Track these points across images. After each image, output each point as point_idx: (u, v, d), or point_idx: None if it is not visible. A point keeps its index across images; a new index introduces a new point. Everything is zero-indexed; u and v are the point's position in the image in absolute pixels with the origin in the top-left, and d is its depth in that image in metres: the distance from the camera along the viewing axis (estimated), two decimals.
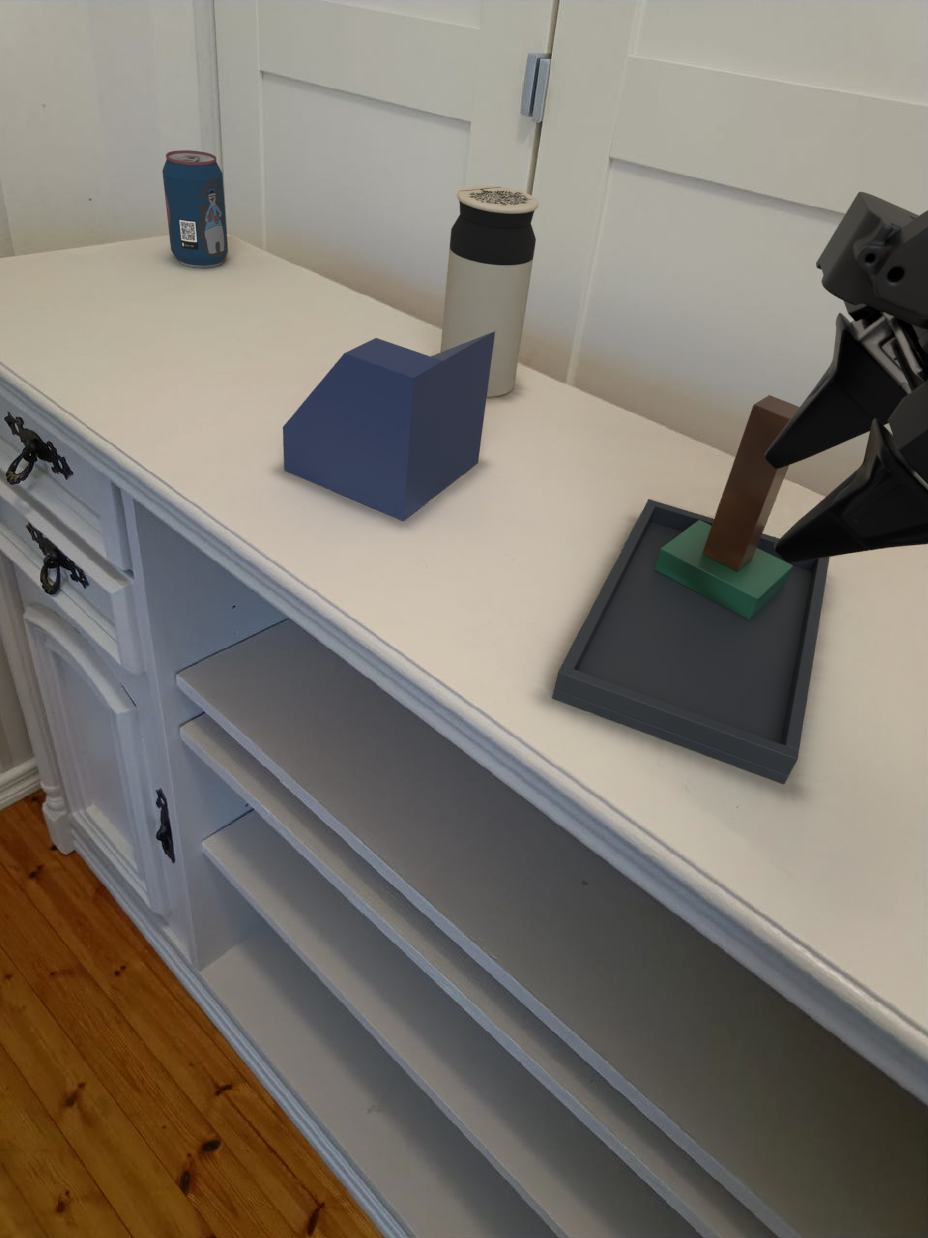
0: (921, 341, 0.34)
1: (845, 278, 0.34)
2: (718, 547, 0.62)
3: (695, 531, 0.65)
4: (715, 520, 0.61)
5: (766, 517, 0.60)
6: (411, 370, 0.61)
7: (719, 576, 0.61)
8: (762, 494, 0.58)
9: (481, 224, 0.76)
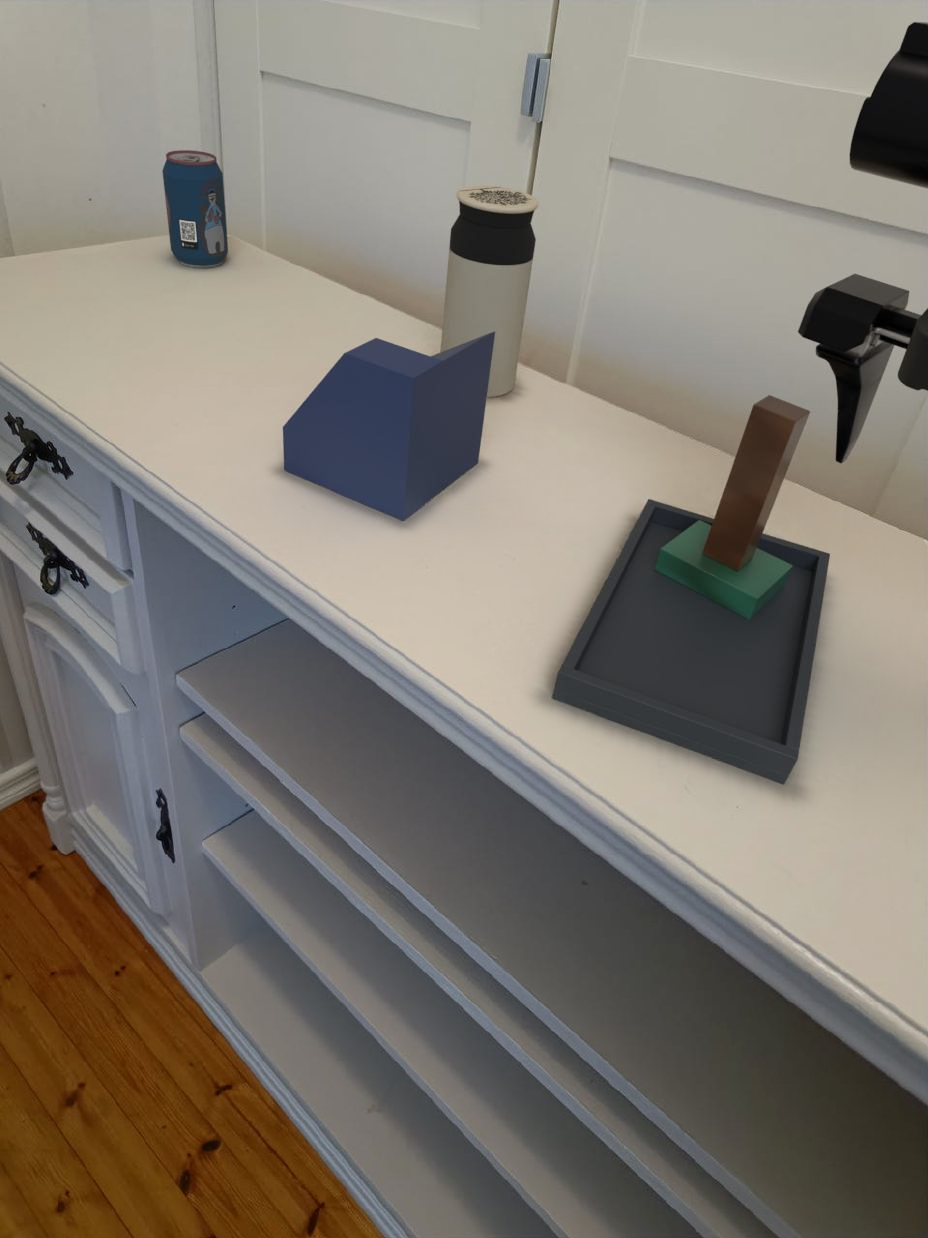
0: None
1: None
2: (718, 547, 0.62)
3: (695, 531, 0.65)
4: (715, 520, 0.61)
5: (766, 517, 0.60)
6: (411, 370, 0.61)
7: (719, 576, 0.61)
8: (762, 494, 0.58)
9: (481, 224, 0.76)
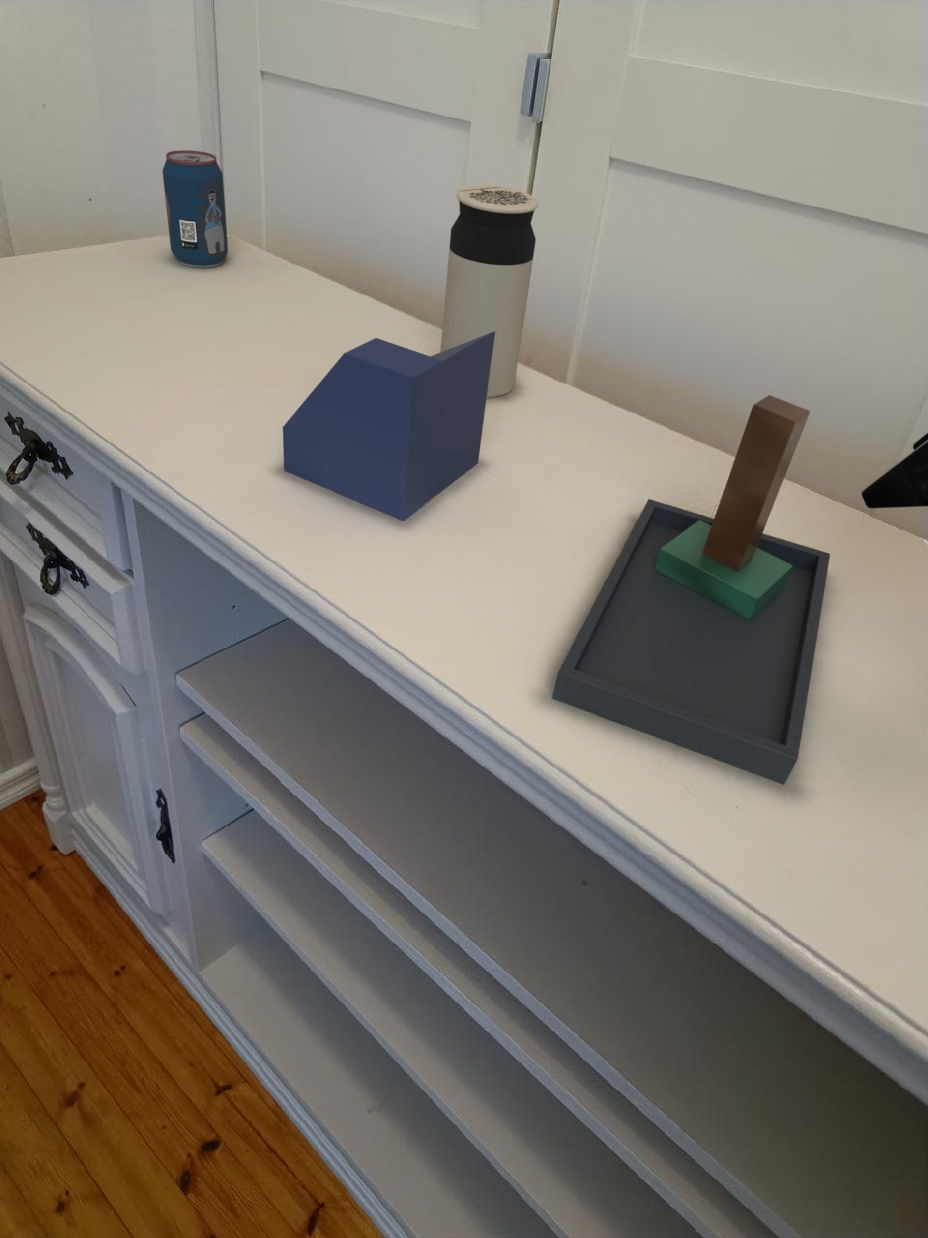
0: None
1: None
2: (718, 547, 0.62)
3: (695, 531, 0.65)
4: (715, 520, 0.61)
5: (766, 517, 0.60)
6: (411, 370, 0.61)
7: (719, 576, 0.61)
8: (762, 494, 0.58)
9: (481, 224, 0.76)
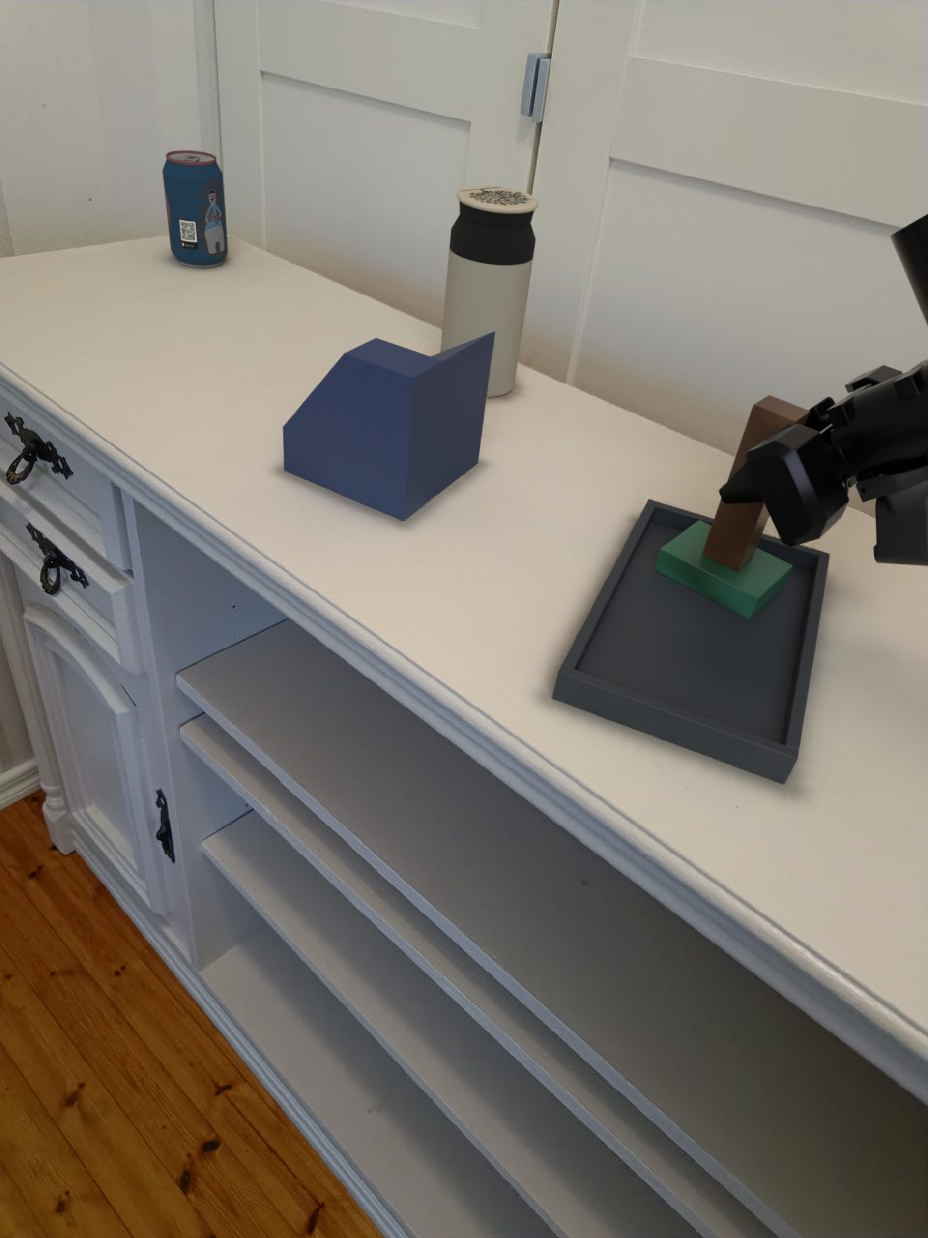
0: None
1: None
2: (718, 546, 0.62)
3: (695, 531, 0.65)
4: (715, 520, 0.61)
5: (766, 517, 0.60)
6: (411, 370, 0.61)
7: (719, 576, 0.61)
8: None
9: (481, 224, 0.76)
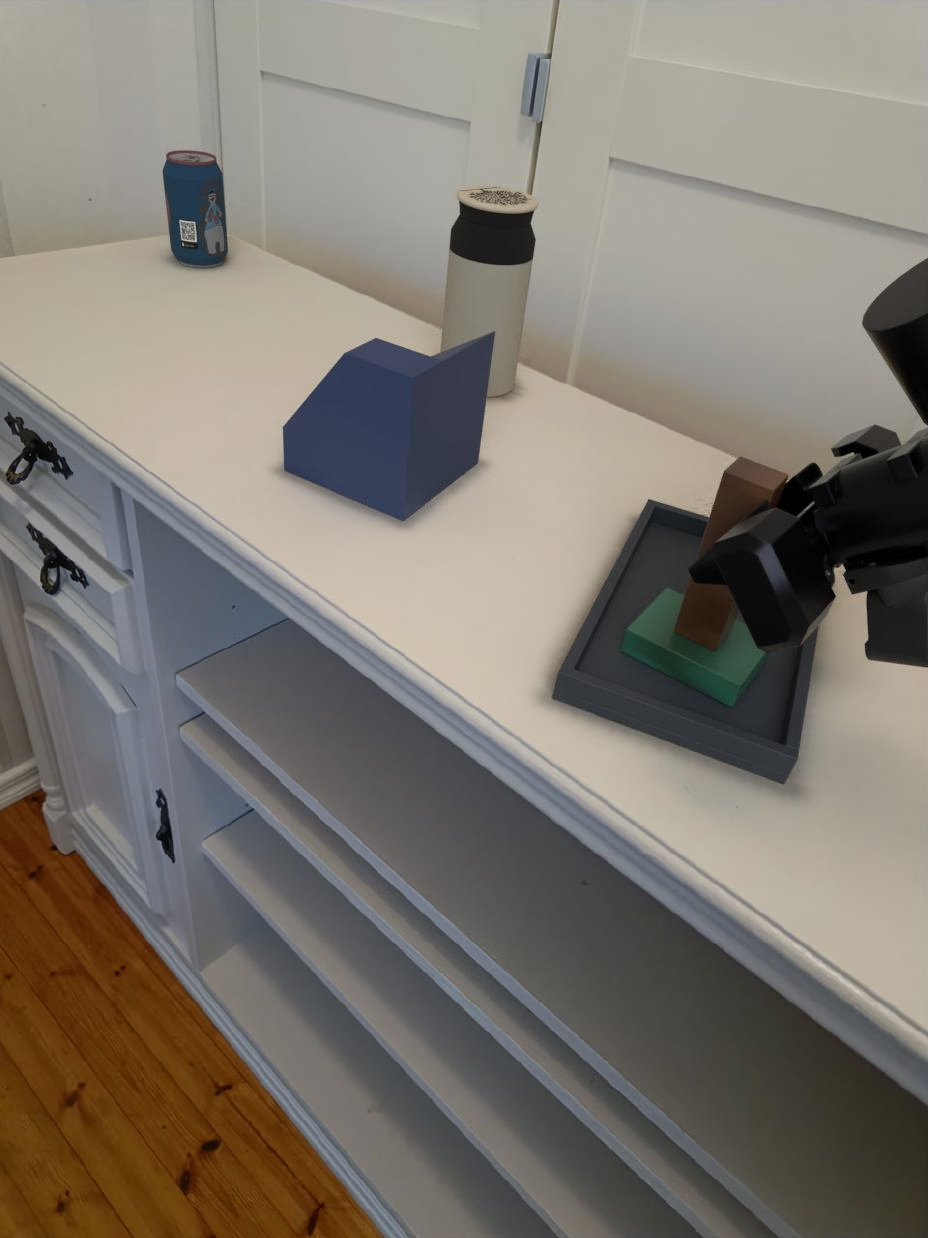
0: None
1: None
2: (691, 624, 0.54)
3: (664, 602, 0.58)
4: (686, 596, 0.53)
5: None
6: (411, 370, 0.61)
7: (695, 659, 0.53)
8: None
9: (481, 224, 0.76)
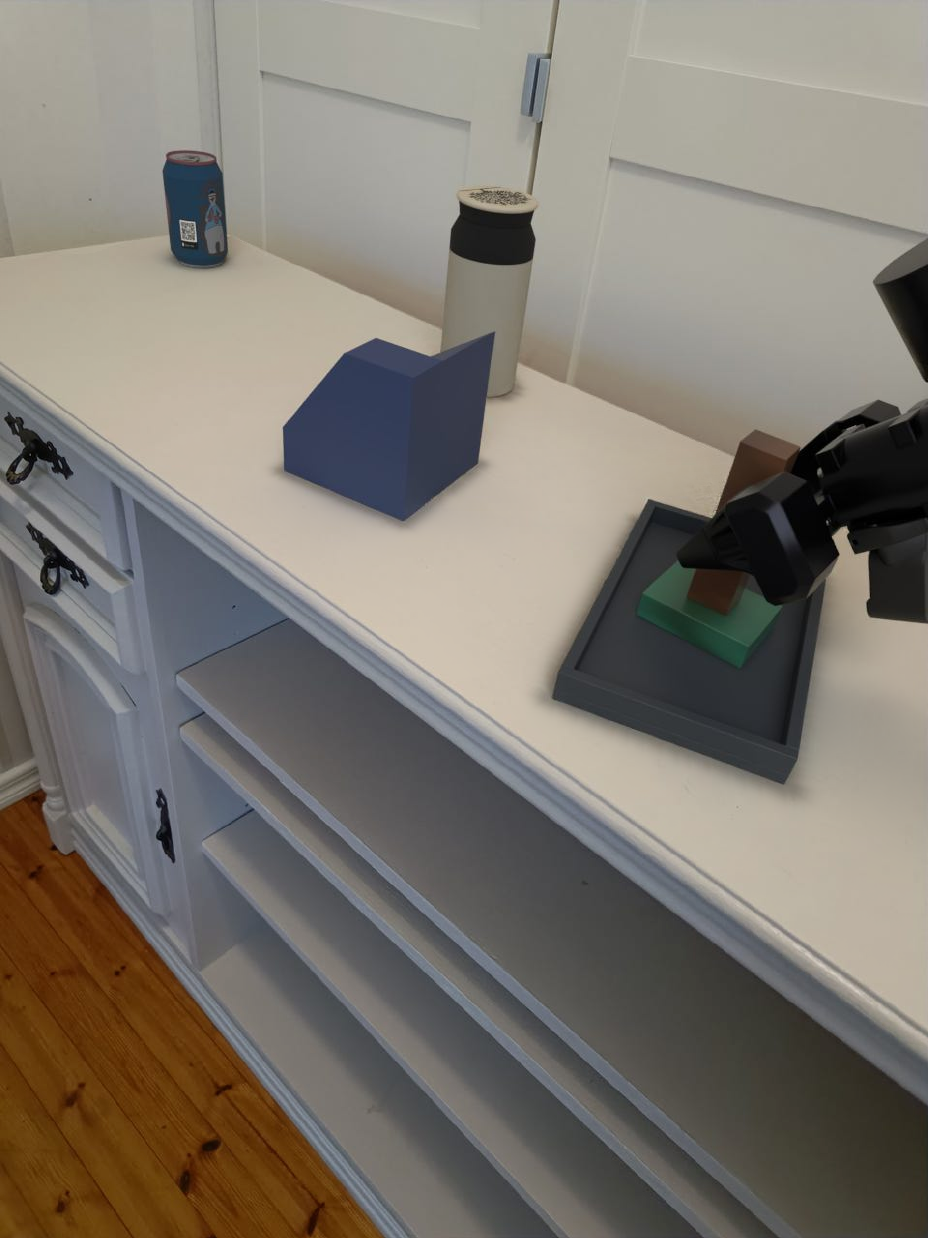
0: None
1: None
2: (703, 590, 0.57)
3: (677, 571, 0.61)
4: None
5: None
6: (411, 370, 0.61)
7: (707, 622, 0.57)
8: None
9: (481, 224, 0.76)
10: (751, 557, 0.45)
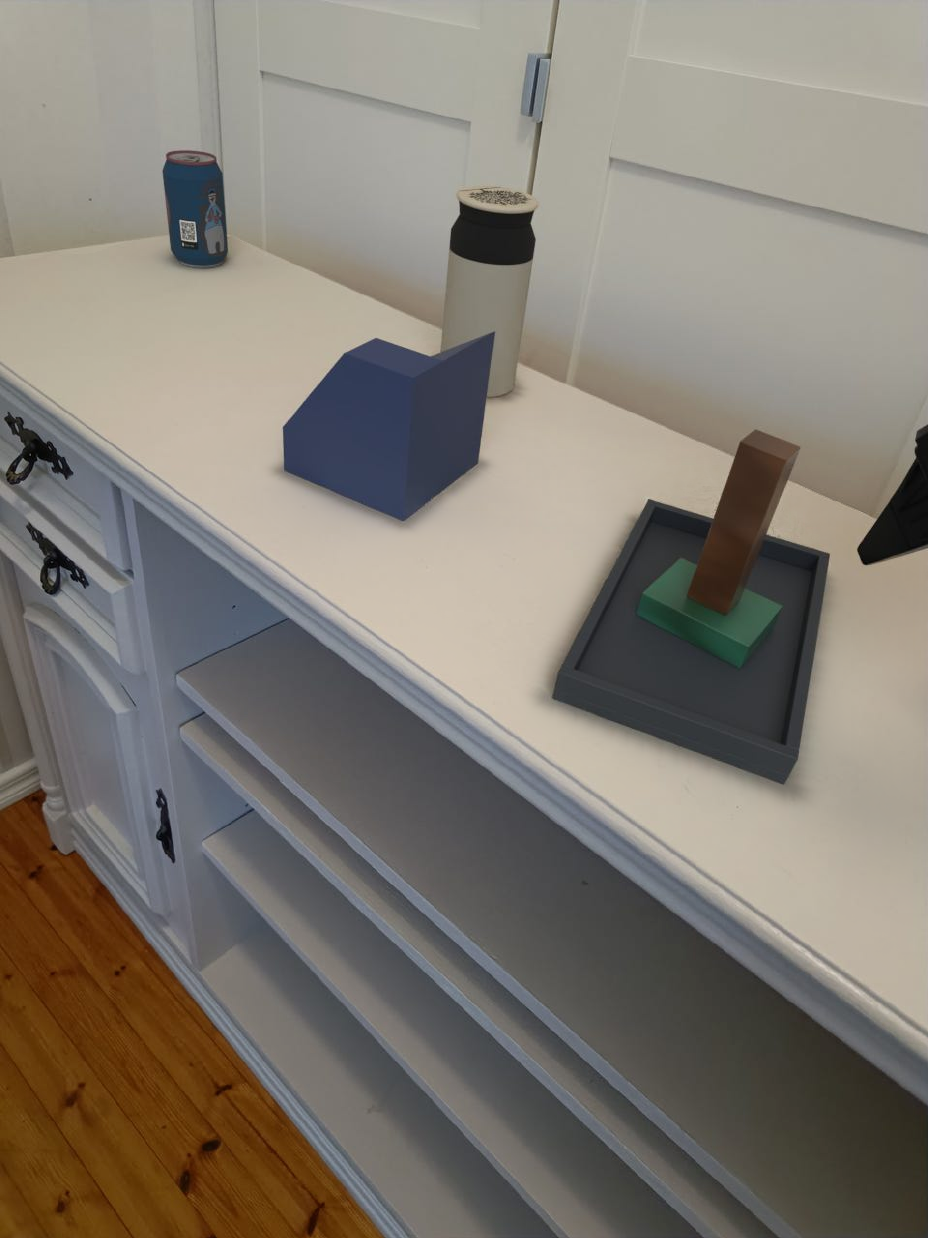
0: None
1: None
2: (703, 590, 0.57)
3: (677, 571, 0.61)
4: (700, 562, 0.57)
5: (754, 558, 0.56)
6: (411, 370, 0.61)
7: (707, 622, 0.57)
8: (751, 536, 0.53)
9: (481, 224, 0.76)
10: None
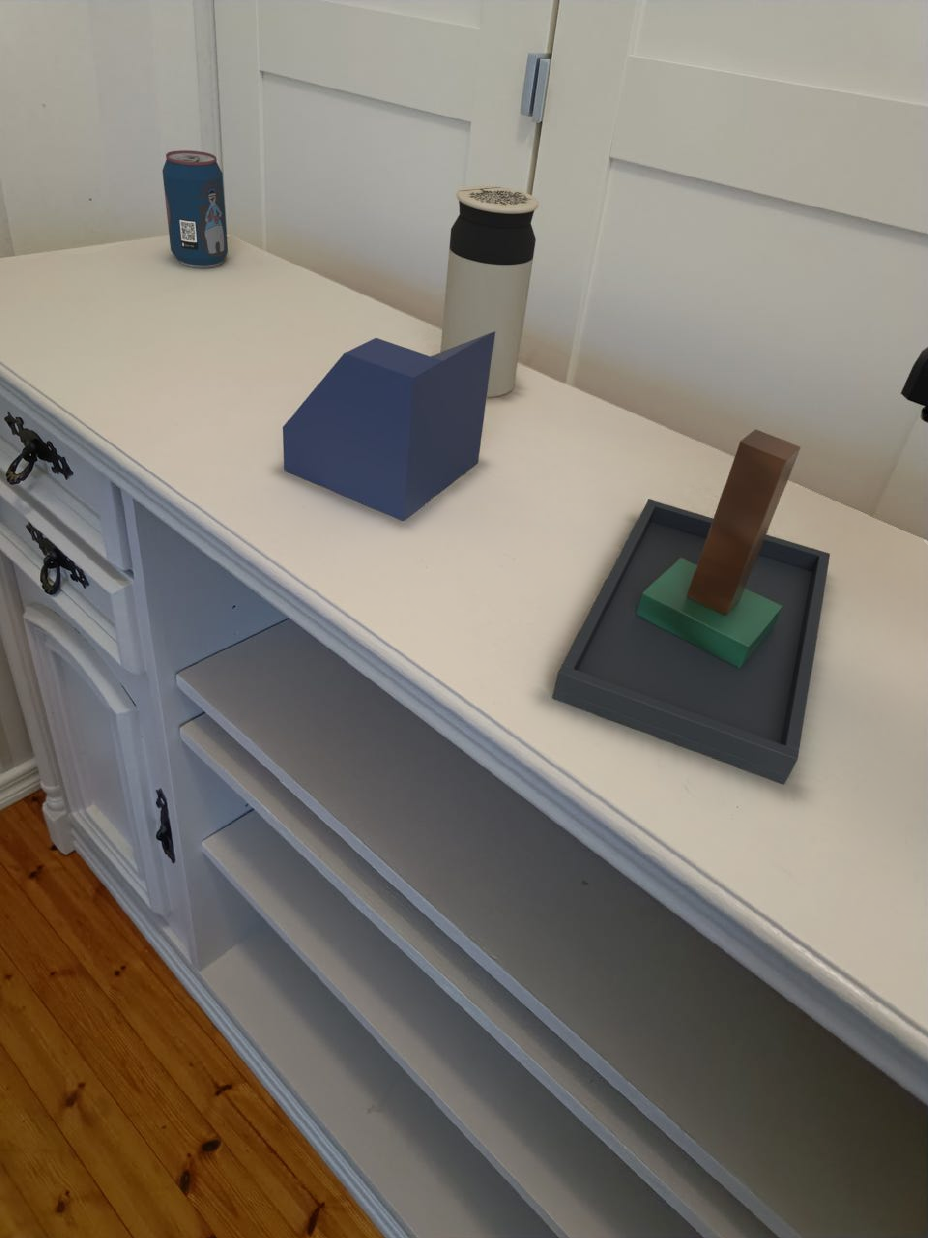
0: None
1: None
2: (703, 590, 0.57)
3: (677, 571, 0.61)
4: (700, 562, 0.57)
5: (754, 558, 0.56)
6: (411, 370, 0.61)
7: (707, 622, 0.57)
8: (751, 536, 0.53)
9: (481, 224, 0.76)
10: None
